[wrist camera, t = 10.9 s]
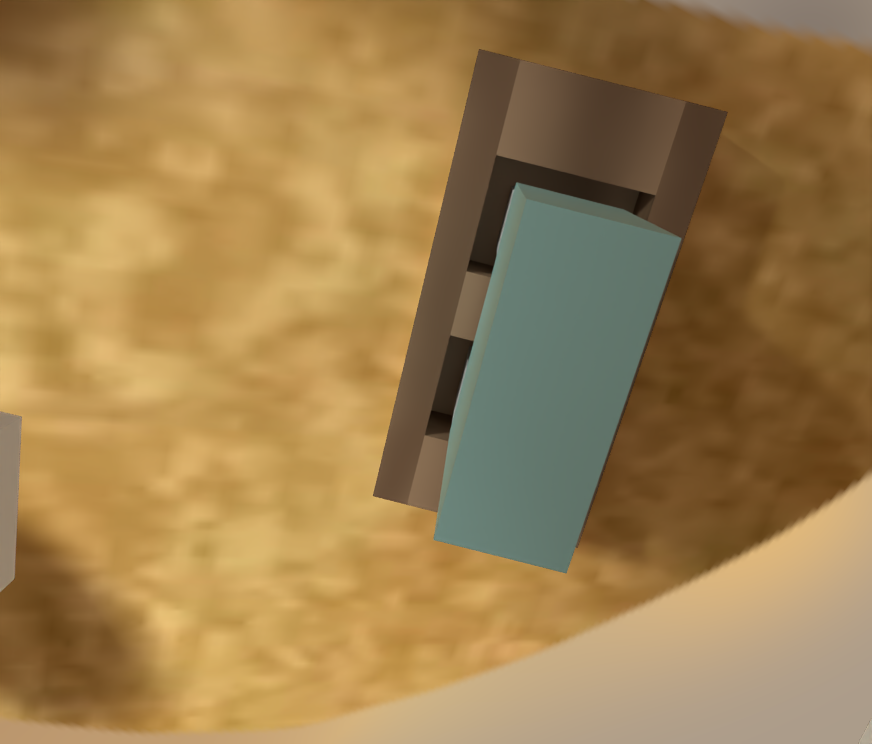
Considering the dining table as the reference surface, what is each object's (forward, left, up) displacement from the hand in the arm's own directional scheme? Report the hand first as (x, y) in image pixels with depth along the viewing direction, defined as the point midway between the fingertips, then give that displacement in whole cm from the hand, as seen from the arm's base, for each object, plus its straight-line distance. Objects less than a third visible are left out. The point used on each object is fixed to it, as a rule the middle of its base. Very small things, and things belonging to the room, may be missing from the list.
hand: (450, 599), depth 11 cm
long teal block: (0, +2, -22) cm, 22 cm away
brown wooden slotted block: (0, +2, -23) cm, 23 cm away
